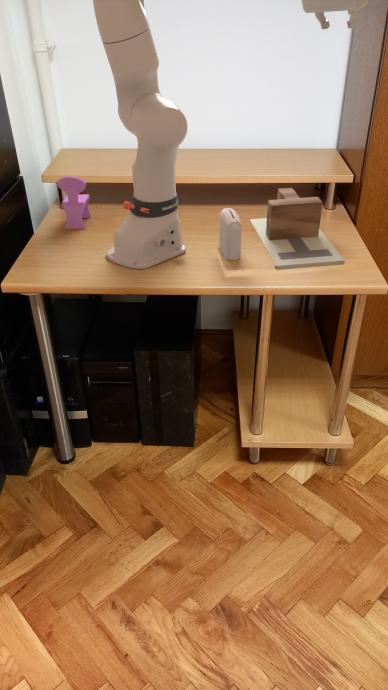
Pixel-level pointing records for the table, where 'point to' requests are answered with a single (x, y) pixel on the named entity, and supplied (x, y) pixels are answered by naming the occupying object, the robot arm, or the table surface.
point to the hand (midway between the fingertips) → (338, 27)
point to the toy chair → (74, 201)
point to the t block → (293, 216)
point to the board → (298, 250)
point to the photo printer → (230, 234)
